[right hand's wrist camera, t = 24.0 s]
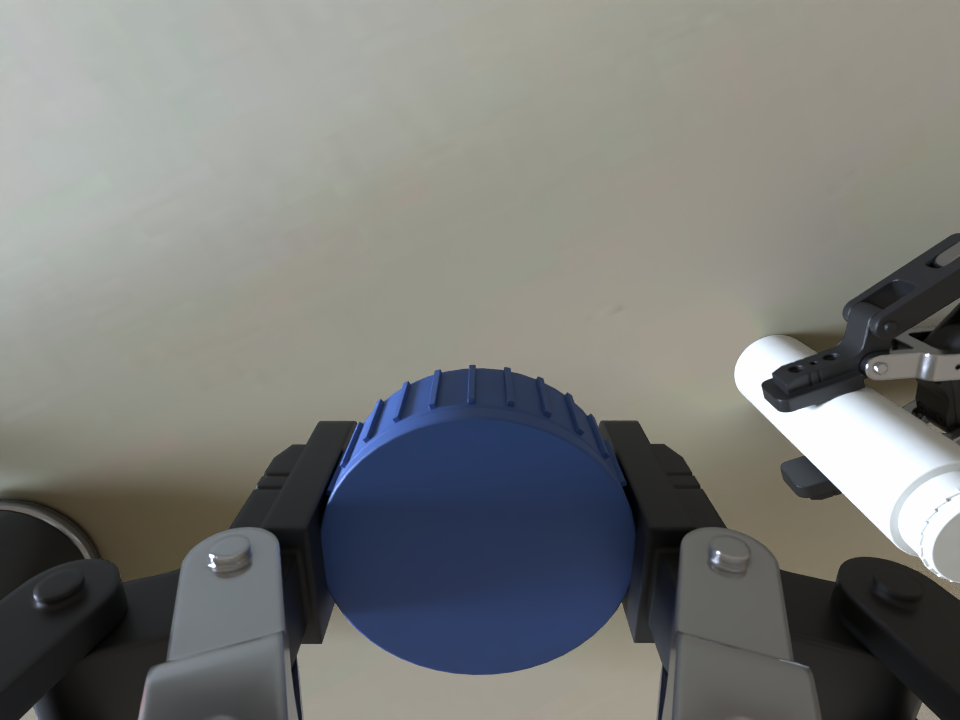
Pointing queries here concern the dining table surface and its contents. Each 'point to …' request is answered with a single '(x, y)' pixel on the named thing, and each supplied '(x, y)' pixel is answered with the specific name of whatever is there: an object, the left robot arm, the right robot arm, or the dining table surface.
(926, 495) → the bottle
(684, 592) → the right robot arm
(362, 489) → the lid
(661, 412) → the dining table surface
